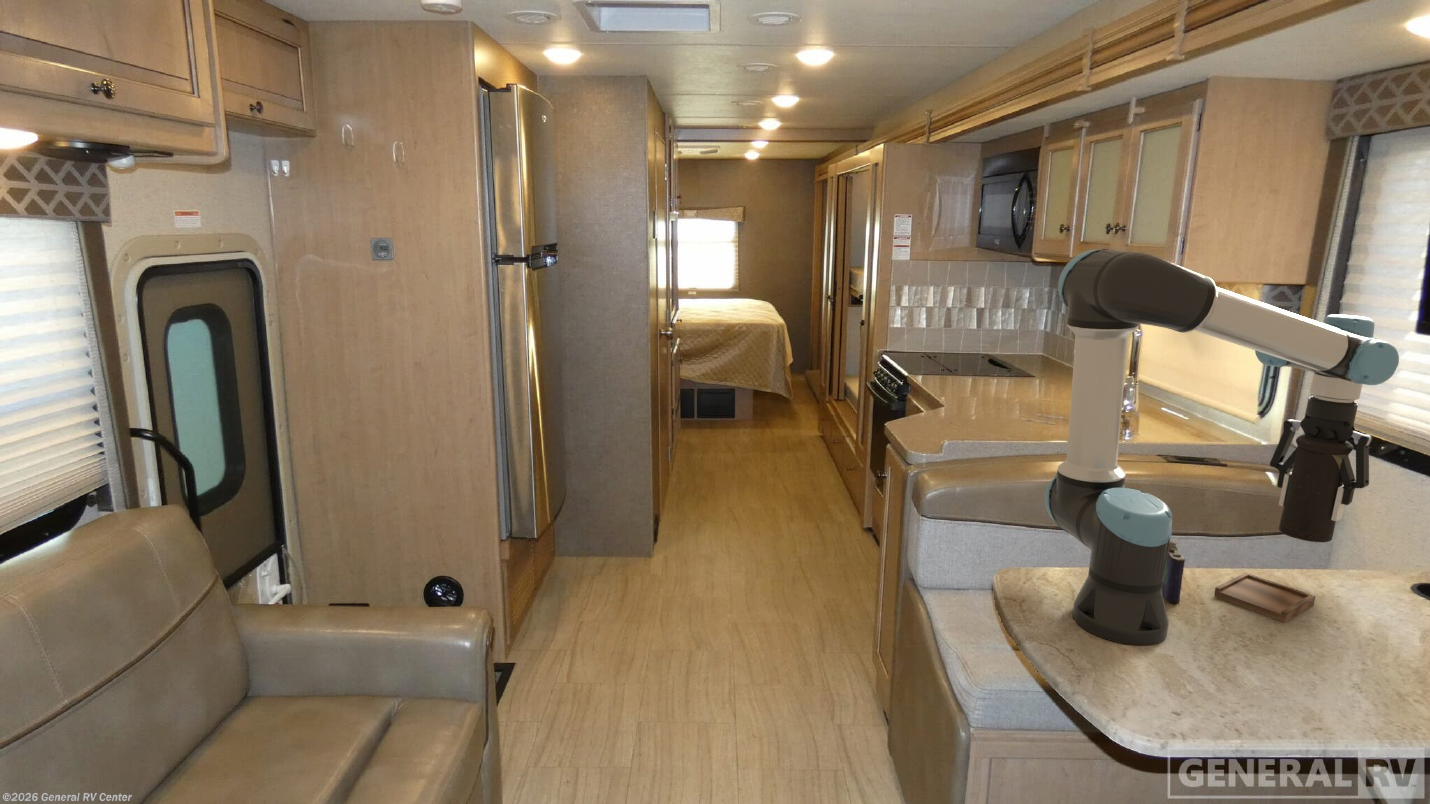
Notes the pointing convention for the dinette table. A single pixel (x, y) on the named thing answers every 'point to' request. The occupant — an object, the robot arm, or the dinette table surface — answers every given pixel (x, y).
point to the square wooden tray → (1265, 596)
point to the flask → (1173, 575)
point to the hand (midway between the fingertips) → (1309, 511)
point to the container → (1313, 489)
